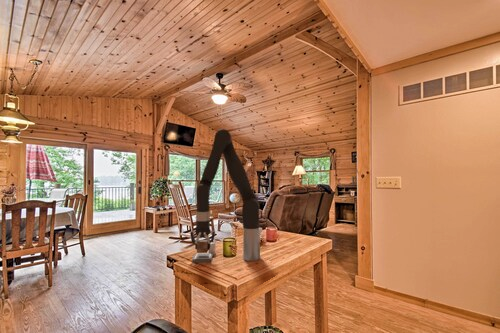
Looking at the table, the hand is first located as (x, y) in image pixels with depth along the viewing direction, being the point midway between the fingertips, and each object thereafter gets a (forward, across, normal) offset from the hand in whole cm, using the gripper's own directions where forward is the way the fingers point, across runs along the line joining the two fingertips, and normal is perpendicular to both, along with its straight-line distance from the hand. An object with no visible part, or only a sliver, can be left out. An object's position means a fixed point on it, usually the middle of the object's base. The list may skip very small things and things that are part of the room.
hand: (202, 249), depth 136 cm
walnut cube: (+1, 0, 0) cm, 1 cm away
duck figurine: (+5, -33, -31) cm, 46 cm away
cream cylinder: (+5, -4, -9) cm, 11 cm away
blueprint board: (+5, 0, 0) cm, 5 cm away
